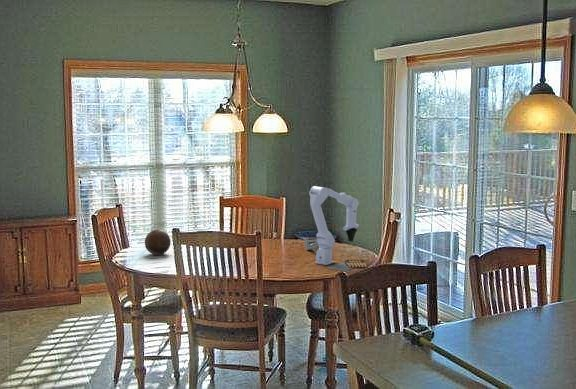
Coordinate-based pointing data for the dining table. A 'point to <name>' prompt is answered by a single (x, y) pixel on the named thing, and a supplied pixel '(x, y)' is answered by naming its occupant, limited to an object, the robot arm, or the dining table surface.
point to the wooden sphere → (157, 242)
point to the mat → (341, 267)
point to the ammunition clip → (355, 263)
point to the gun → (311, 245)
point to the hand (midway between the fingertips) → (350, 241)
